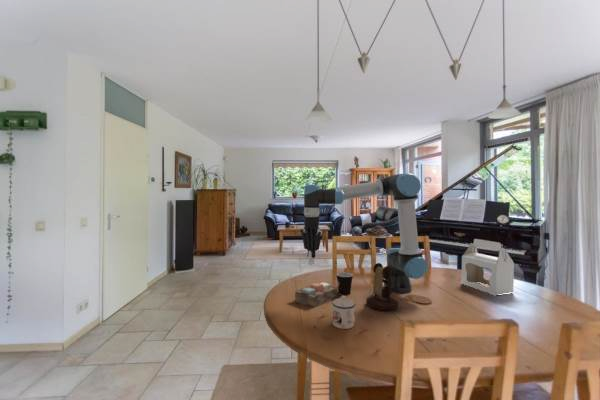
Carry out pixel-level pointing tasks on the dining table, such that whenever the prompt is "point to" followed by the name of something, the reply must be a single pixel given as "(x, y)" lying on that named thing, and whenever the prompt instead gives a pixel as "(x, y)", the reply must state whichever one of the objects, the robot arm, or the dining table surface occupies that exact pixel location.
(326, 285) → the cream key
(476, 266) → the gable box
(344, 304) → the teacup with lid
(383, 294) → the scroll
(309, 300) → the key box
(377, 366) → the dining table surface
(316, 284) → the terracotta key
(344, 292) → the coffee mug
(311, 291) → the grey key
